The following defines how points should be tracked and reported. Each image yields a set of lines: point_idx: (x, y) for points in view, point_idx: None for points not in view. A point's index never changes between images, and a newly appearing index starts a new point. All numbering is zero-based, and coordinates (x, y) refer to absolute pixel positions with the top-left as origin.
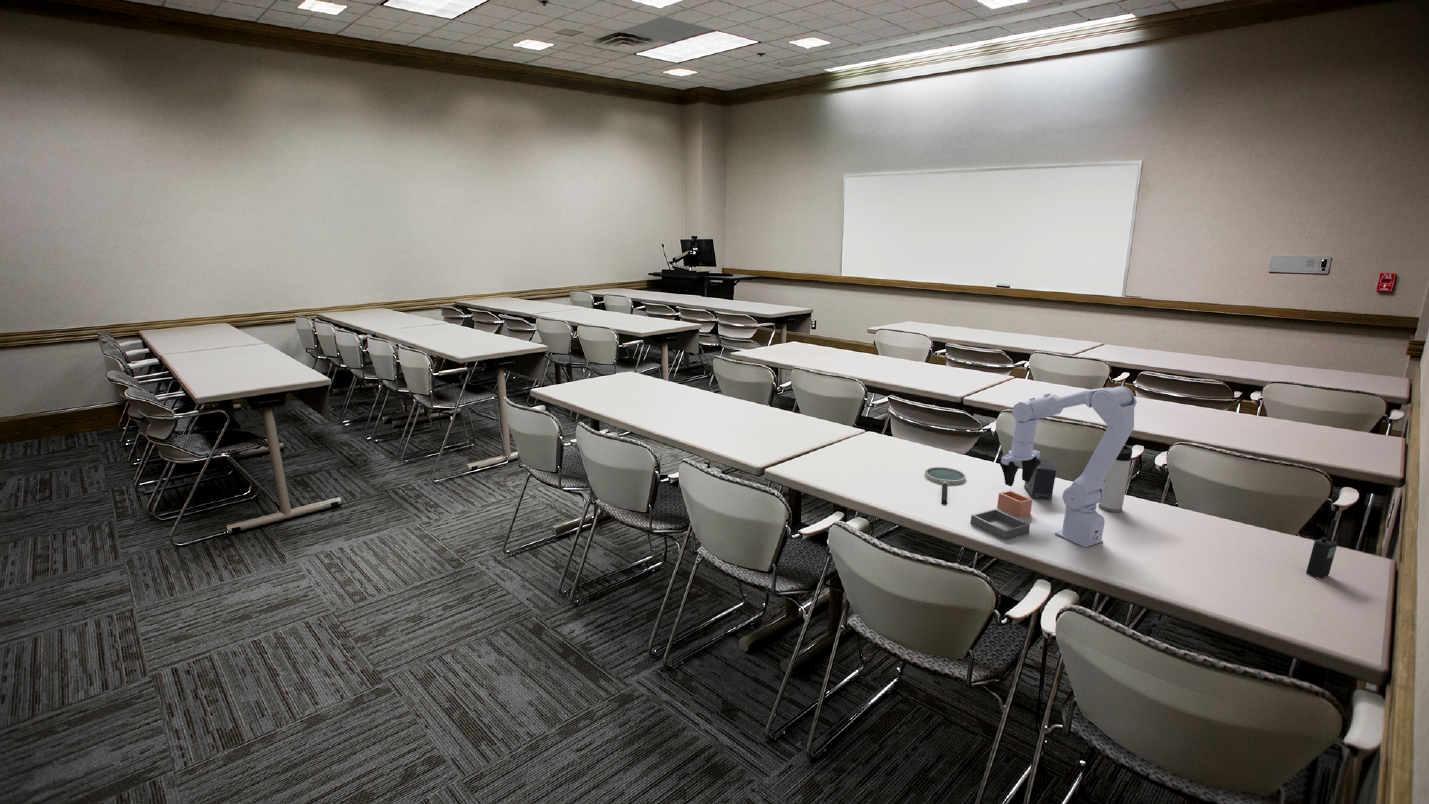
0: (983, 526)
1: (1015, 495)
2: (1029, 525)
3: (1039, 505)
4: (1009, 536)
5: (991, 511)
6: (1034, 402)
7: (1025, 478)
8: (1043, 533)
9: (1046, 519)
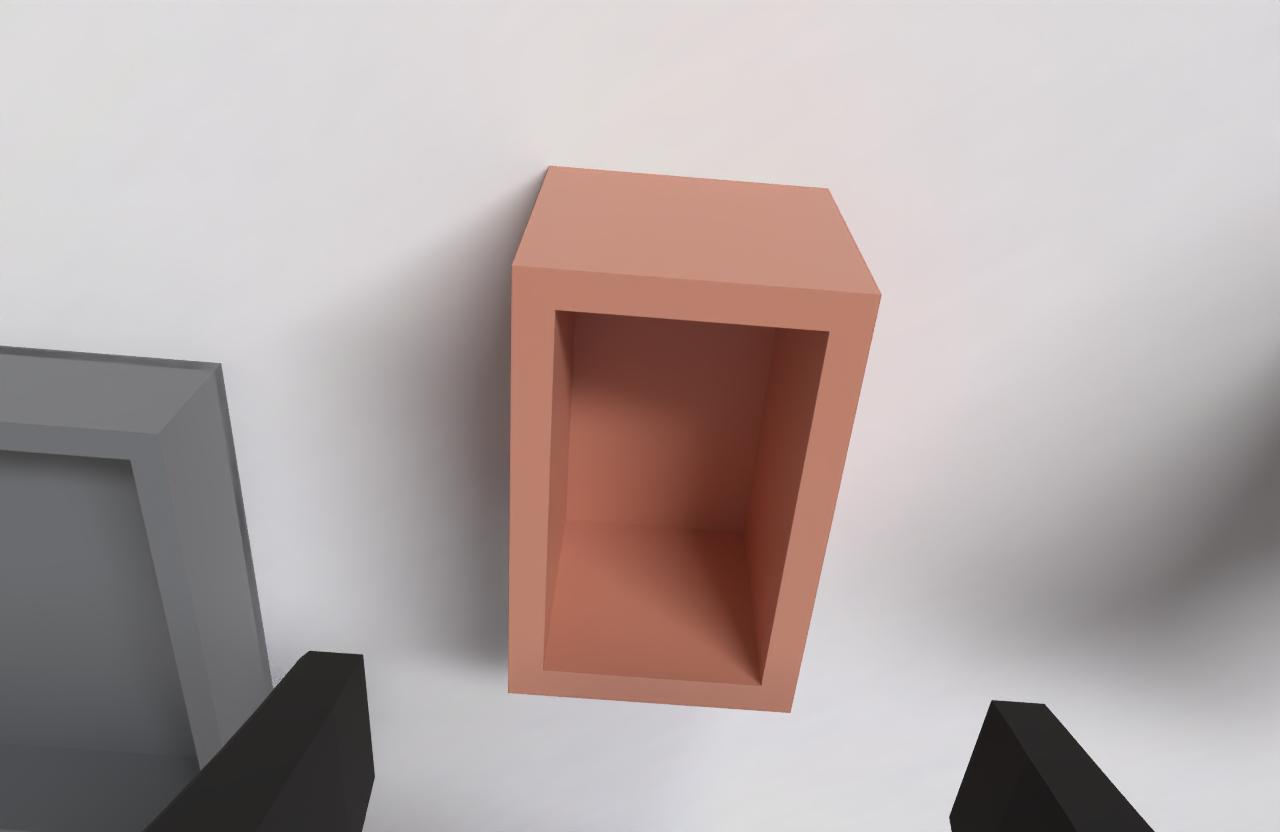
0: None
1: (801, 428)
2: None
3: (1196, 448)
4: None
5: (36, 447)
6: None
7: (993, 822)
8: (430, 824)
9: None
